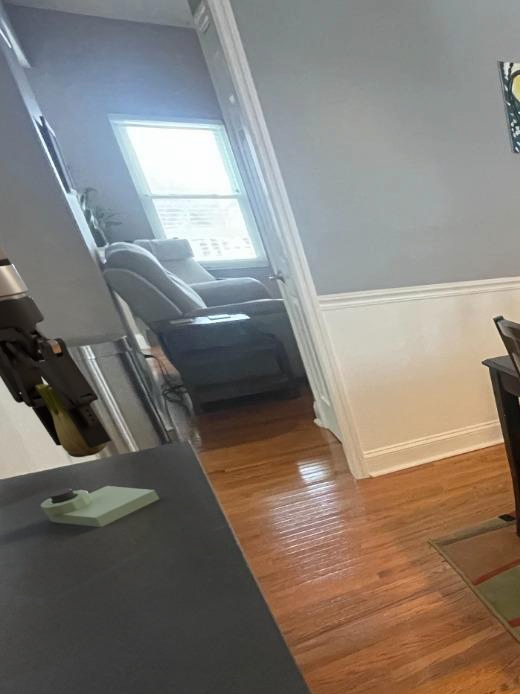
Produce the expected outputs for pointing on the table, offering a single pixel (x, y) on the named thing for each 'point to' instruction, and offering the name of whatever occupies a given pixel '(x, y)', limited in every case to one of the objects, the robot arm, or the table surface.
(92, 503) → the scale
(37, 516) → the table surface
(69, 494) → the scale button
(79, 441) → the fennel bulb
